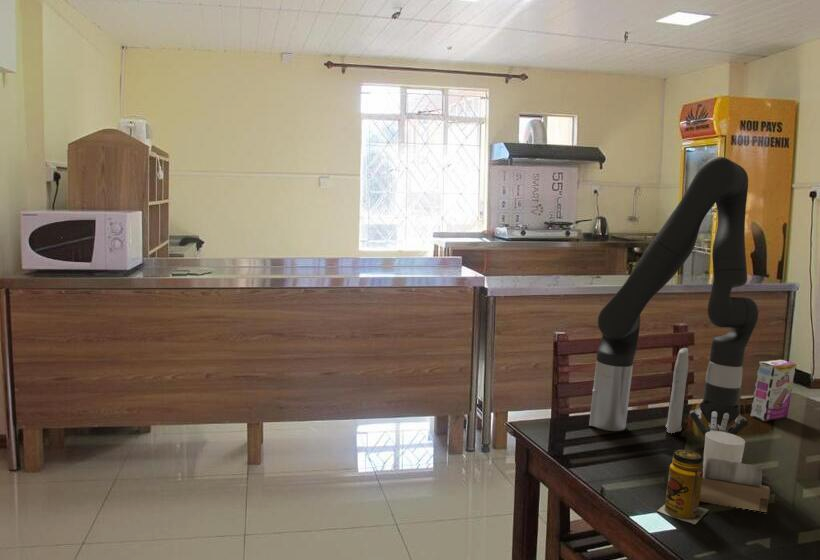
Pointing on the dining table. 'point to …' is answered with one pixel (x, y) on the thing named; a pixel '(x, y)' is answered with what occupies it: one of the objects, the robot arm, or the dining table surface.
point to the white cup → (723, 447)
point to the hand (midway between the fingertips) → (713, 453)
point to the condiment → (684, 487)
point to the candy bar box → (773, 390)
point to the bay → (734, 485)
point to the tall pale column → (678, 392)
